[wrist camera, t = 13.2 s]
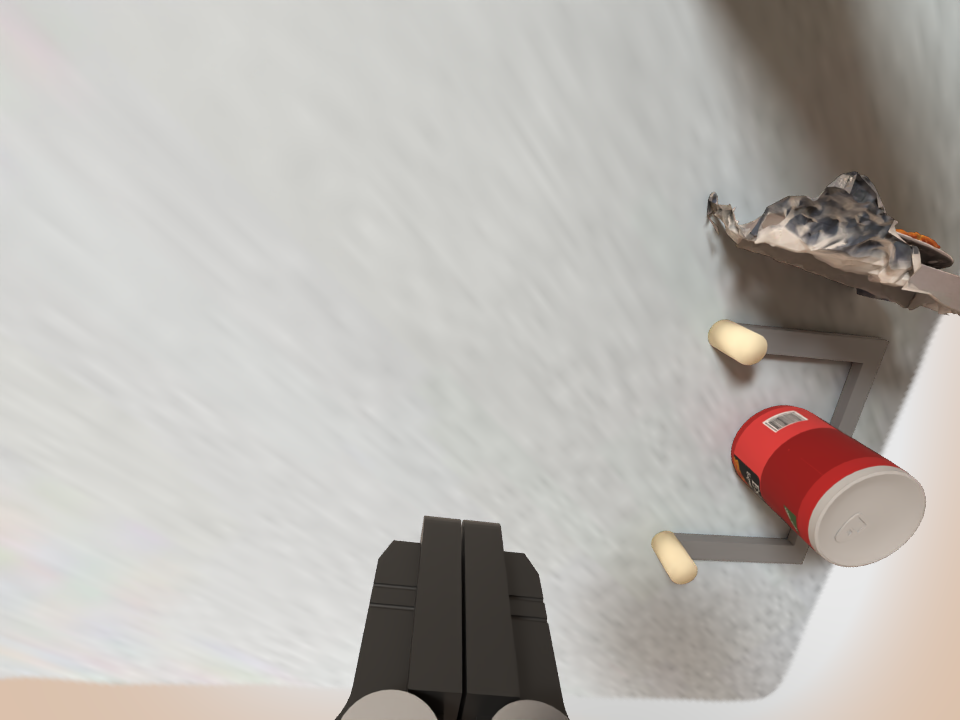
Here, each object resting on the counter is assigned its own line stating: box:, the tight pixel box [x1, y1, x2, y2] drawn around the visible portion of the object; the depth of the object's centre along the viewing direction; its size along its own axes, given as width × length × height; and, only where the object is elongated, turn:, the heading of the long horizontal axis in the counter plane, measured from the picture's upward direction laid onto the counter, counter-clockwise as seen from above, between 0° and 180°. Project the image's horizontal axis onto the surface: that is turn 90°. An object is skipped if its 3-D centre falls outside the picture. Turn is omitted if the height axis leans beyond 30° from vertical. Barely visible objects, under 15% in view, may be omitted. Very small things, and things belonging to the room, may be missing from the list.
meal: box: [707, 172, 960, 316], centre depth 33 cm, size 15×4×13 cm, turn 70°
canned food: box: [731, 405, 926, 567], centre depth 40 cm, size 8×8×11 cm
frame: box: [651, 320, 889, 584], centre depth 44 cm, size 22×15×4 cm, turn 173°
